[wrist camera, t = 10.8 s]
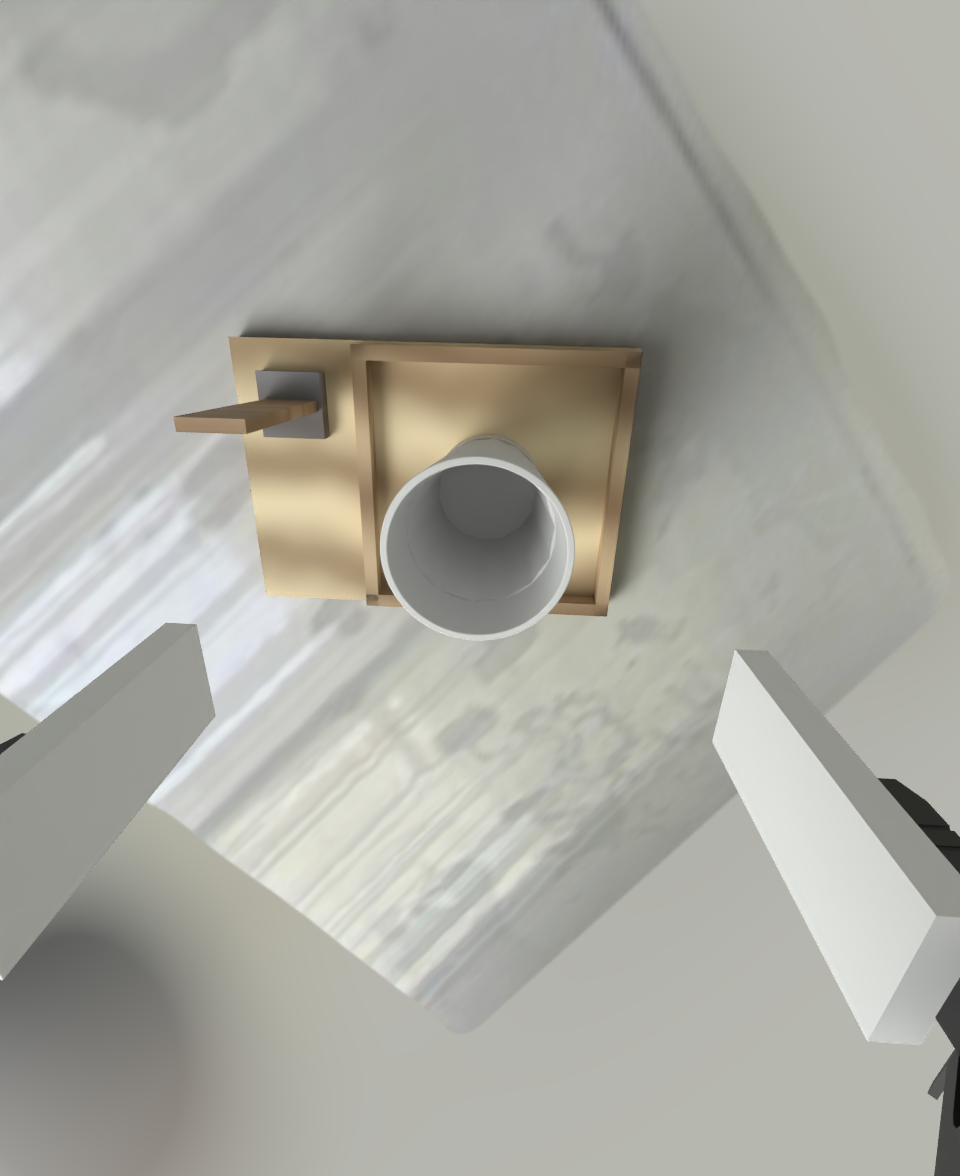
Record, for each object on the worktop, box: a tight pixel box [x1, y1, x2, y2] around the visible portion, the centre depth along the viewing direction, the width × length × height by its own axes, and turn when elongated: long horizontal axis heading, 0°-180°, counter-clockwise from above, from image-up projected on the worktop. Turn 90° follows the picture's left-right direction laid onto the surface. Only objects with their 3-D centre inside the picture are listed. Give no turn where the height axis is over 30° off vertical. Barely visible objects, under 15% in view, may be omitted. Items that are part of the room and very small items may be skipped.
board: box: [174, 337, 642, 616], centre depth 29 cm, size 16×23×11 cm
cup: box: [380, 434, 575, 640], centre depth 28 cm, size 8×8×12 cm
